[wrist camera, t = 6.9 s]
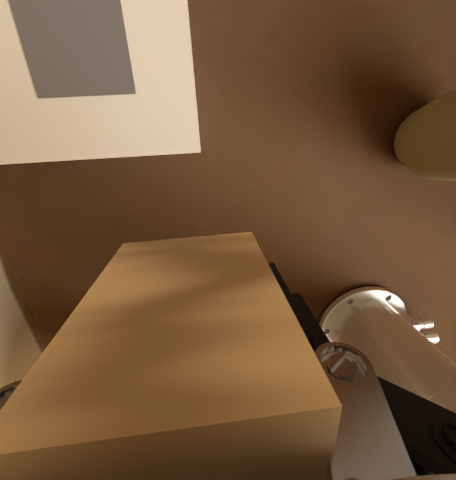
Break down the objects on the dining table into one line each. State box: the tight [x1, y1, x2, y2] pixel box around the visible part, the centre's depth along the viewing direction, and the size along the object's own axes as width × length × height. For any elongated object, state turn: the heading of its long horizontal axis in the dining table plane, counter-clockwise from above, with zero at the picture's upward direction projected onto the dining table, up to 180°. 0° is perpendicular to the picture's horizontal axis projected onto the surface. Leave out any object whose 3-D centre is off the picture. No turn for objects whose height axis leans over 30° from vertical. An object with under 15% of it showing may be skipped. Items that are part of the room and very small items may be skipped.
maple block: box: [0, 232, 342, 480], centre depth 8 cm, size 5×5×7 cm
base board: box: [0, 0, 201, 165], centre depth 21 cm, size 18×18×3 cm
